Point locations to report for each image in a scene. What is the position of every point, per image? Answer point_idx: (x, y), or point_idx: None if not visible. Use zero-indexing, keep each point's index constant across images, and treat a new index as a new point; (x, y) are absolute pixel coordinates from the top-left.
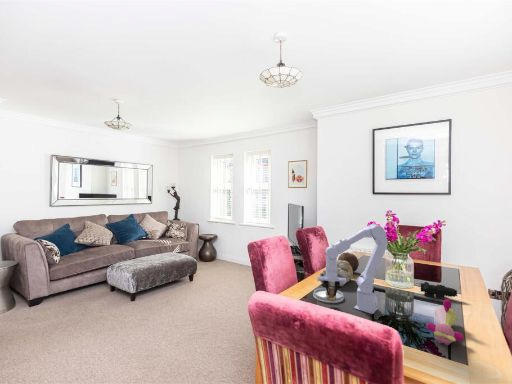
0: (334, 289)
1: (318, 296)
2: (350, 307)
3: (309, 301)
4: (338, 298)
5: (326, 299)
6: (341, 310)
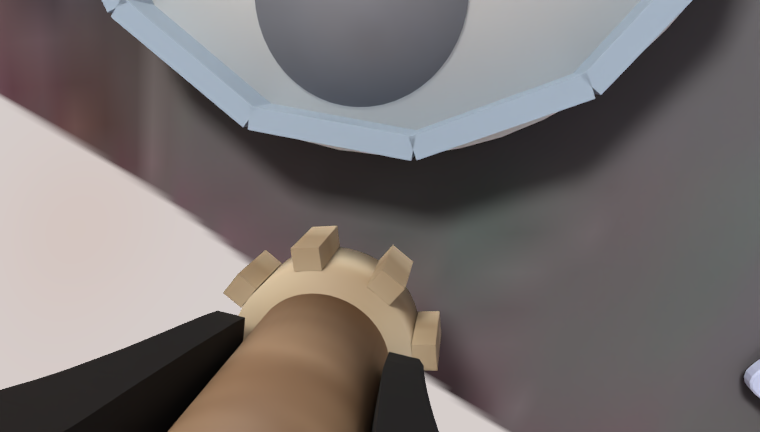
0: (375, 428)
1: (125, 26)
2: (692, 322)
3: (30, 99)
4: (556, 110)
5: (286, 134)
6: (485, 415)
